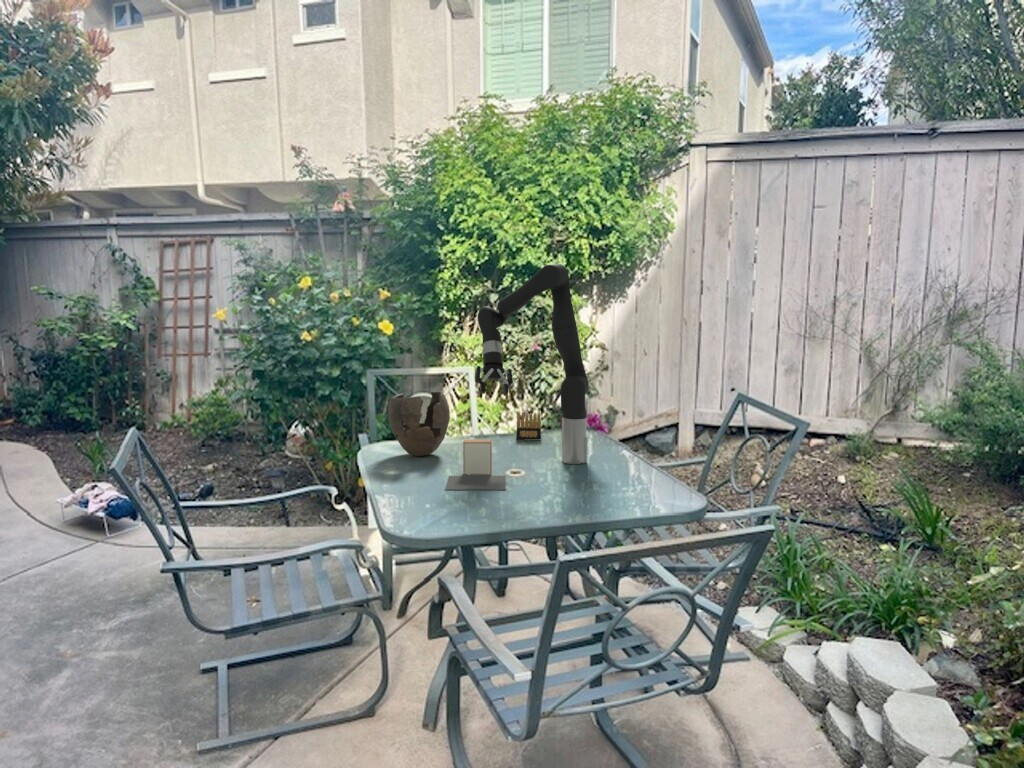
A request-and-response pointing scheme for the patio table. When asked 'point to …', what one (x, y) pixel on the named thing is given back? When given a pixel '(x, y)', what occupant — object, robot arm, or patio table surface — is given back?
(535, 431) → the ammunition clip
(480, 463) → the peach block
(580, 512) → the patio table surface
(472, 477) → the charcoal mat
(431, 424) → the clay pot
